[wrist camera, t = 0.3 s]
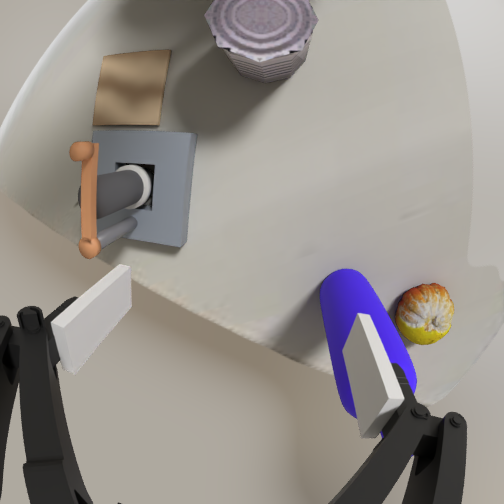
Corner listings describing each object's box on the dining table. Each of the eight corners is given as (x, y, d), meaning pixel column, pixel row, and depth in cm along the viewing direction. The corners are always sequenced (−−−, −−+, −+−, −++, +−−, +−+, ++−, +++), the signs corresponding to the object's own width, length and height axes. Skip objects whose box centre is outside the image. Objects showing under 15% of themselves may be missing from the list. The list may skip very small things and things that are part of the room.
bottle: (311, 308, 46) (331, 481, 18) (326, 260, 43) (380, 426, 15) (358, 317, 46) (411, 477, 18) (376, 272, 43) (465, 422, 15)
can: (243, 8, 32) (230, -33, 21) (318, 30, 32) (329, -8, 21) (214, 70, 36) (190, 44, 24) (291, 94, 36) (296, 72, 25)
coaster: (105, 56, 35) (103, 56, 35) (171, 50, 35) (169, 49, 34) (94, 125, 40) (92, 125, 39) (159, 125, 39) (157, 124, 38)
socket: (103, 131, 40) (49, 130, 28) (197, 134, 39) (162, 128, 27) (99, 227, 45) (51, 252, 33) (186, 241, 44) (153, 275, 32)
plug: (126, 162, 41) (75, 170, 29) (161, 164, 41) (117, 172, 29) (124, 201, 43) (74, 221, 31) (158, 205, 43) (115, 227, 31)
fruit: (458, 298, 43) (470, 330, 36) (416, 329, 49) (421, 362, 42) (426, 263, 41) (438, 297, 35) (381, 300, 47) (384, 335, 41)
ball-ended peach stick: (85, 141, 27) (68, 142, 24) (103, 141, 27) (86, 141, 24) (84, 253, 32) (69, 262, 29) (101, 257, 32) (87, 267, 29)
